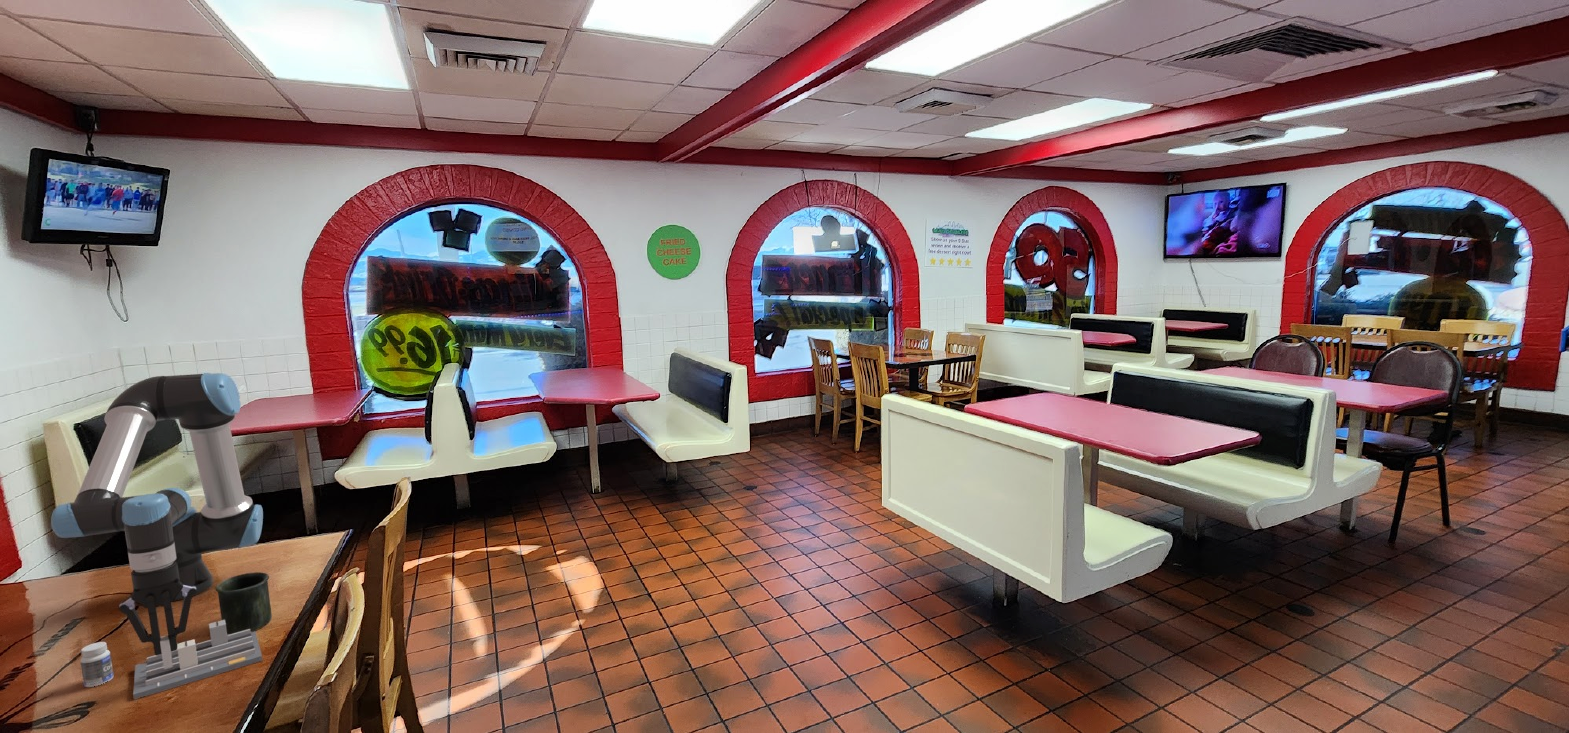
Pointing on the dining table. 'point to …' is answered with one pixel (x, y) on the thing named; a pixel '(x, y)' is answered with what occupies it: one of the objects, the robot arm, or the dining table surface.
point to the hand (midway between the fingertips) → (168, 665)
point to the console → (199, 661)
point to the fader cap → (187, 654)
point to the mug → (245, 602)
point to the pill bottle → (96, 664)
